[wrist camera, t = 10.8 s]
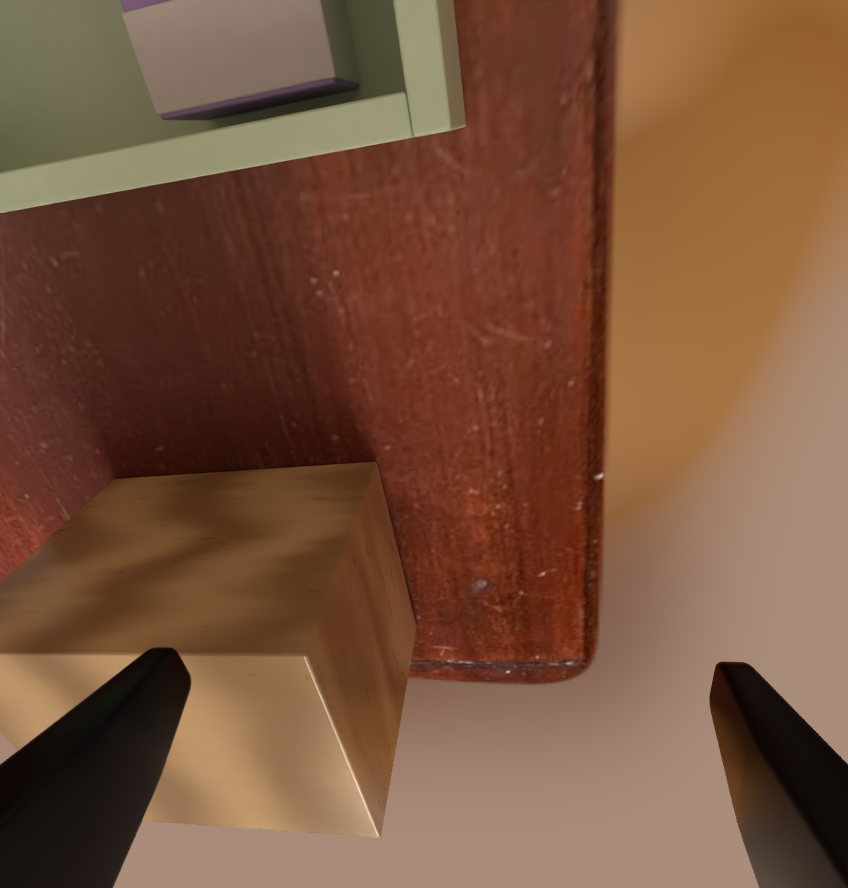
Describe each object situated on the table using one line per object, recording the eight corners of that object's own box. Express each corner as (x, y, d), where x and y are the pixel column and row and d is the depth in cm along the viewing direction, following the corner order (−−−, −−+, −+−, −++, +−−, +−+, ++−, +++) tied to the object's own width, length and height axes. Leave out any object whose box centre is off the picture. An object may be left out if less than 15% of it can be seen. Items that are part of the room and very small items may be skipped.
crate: (377, 460, 21) (305, 655, 13) (416, 626, 26) (380, 838, 18) (112, 478, 23) (-77, 653, 16) (194, 627, 28) (79, 817, 20)
